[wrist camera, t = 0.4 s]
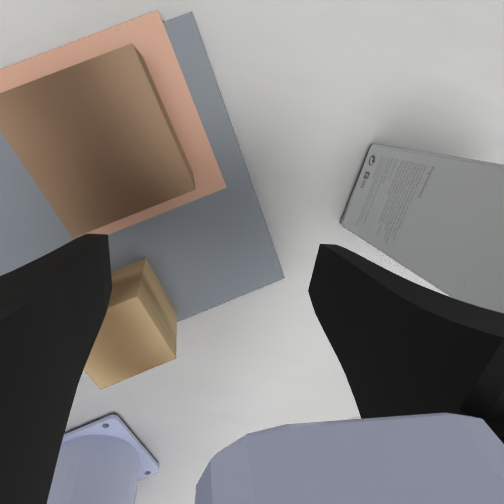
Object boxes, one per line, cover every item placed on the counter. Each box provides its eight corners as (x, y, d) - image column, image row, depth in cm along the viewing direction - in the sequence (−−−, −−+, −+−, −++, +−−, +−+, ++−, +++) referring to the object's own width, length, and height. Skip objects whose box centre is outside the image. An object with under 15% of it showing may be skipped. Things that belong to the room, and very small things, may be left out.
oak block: (114, 337, 22) (100, 389, 18) (77, 285, 20) (51, 331, 16) (176, 312, 22) (176, 358, 18) (145, 257, 20) (137, 296, 16)
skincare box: (337, 224, 23) (556, 392, 10) (371, 136, 21) (712, 194, 7) (431, 245, 25) (712, 402, 12) (470, 167, 23) (864, 254, 10)
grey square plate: (72, 358, 23) (68, 367, 22) (-125, 121, 16) (-142, 122, 15) (281, 272, 23) (285, 278, 23) (187, 4, 16) (187, -2, 15)
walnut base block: (93, 212, 18) (72, 238, 15) (26, 101, 16) (-20, 100, 12) (192, 173, 19) (195, 189, 15) (142, 56, 16) (132, 43, 12)
